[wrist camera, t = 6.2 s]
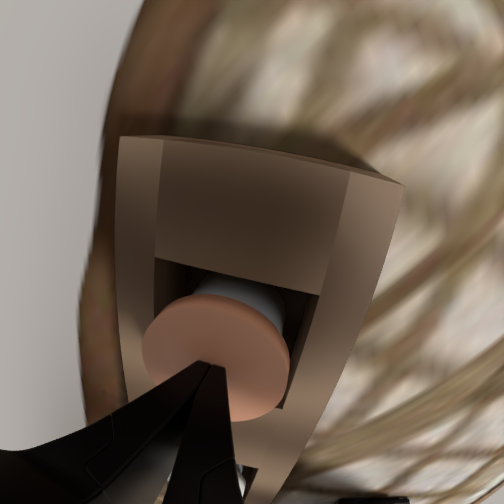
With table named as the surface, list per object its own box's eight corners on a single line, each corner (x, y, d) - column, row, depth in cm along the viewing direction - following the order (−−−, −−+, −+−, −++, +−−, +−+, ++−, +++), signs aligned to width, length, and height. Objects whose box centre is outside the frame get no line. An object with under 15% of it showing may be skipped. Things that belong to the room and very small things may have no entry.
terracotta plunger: (282, 367, 12) (269, 433, 9) (181, 340, 13) (145, 397, 9) (308, 272, 11) (304, 332, 7) (187, 245, 11) (139, 289, 8)
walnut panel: (265, 488, 18) (258, 520, 15) (163, 460, 19) (148, 489, 16) (381, 174, 10) (405, 185, 7) (164, 135, 11) (119, 136, 8)
